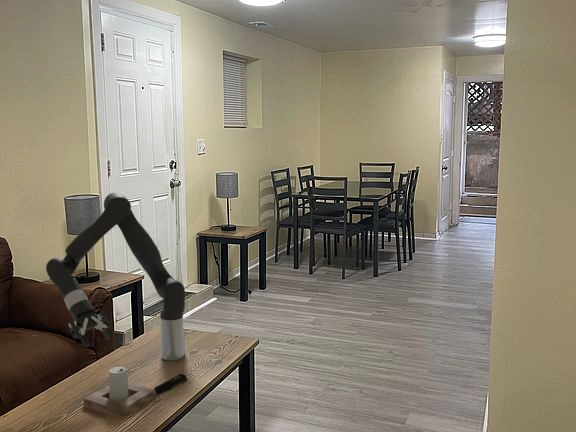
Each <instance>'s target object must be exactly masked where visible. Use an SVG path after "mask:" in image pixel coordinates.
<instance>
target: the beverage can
mask: <svg viewBox="0 0 576 432" xmlns="http://www.w3.org/2000/svg"><path fill="white" fill-rule="evenodd" d="M107 375H108V385H109V399H111V400H115V401H118V402H122V401H124V400H125V399H127V398H129V397H128V382H129V379H128V377H129V376H128V375H129V373H128V370H127V367H125V366H116V367H115V366H114V367H112V368H110V369H109V371H108V374H107Z"/></svg>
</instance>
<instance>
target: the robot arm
mask: <svg viewBox="0 0 576 432" xmlns="http://www.w3.org/2000/svg"><path fill="white" fill-rule="evenodd" d="M103 208H104V210H103V212H102V213H101V214H100V216H99V217H98V218H97V219H96V220H95V221H94V222H93V223H92V224H90V225H89V226H88V227H86V228H85V229H84V230H82V231H81V232H80V233H79V234H78V235H76V237H75V238H74V239H73V240H72V241H71V242H70V243H69V244H68V245H67V247H66V248H65V254H66V255H65V257H64V258H63V259H61V258H60V257H59V258H58V257H54V258H51V259H49V261H48V262H47V263H46V265H45V271H46V273H47V276H48V277H49V279H50V280H51V282H52V283H53V284H54V285H55V287H56V288H57V289H58V291H59V292H60V294H61V296H62V299H63V300H64V302H65V303H64V304H65V305H66V308H67V310H68V311H69V313H70V315H71V317H72V319H73V320H70V322H69V323H68V324H67V327H68V329H69V332H70V333H71V336H72V338H73V339H74V340H76V339H80V342H81V344H82V345H83V346H84V347H86V348H87V347H89V346H90V345H91V343H90V341H89V338H88V337H87V335H85V333H86V331H88V330H89V331H90V330H93V329H96V330H99V331H101V332H102V335H103V336H104V339H105V340H106V341H108V340H110V339H111V336H112V335H111V333H110V331H109V328H110V326H111V322H110V320H109V318H108V317H107V315H106V314H105V312H103V311H102V312H100V313H99V314H97V313H95V310H94V309H95V308H94V307H93V306H92V304H91V302H90V301H89V298H88V296H87V294H86V293H85V292H84V291H83V289H82V287H81V285H80V284H79V283H80V282H78V280H77V279H76V278H74V277H73V276H72V275H73V274H74V273H75V271H76V270H77V268H78V266H79V265H80V262H81V260H82V259H83V258H85V256H87V254H88V253H89V252H90V251H91V250H92V249H93V247H94V246H96V244H97V243H98V242H99V241H100V240H101V239H102V238H103V237H104V236H105V235H106V234H108V233H109V231H111V230H112V229H113V228H114V227H115V226H118V228H119V230H120V231H121V234H122V235H123V237H124V239H125V242H126V243H127V245H128V247H129V249H130V250H131V253H132V254H133V256H134V257H135V259H136V261H137V262H138V263H139V265H140V266H141V268H143V270H144V271H145V273H146V274H147V275H148V277H149V278H150V281H151V282H152V284H153V286H154V289H155V290H156V293H157V295H158V296H159V297H160V298H161V299H163V308H162V309H161V310H160V312H159V314H160V315H159V316H160V318H159V319H160V320H159V321H160V322H159V323H160V353H161V354H160V357H161V359H162V360H165V361H177V360H180V359H182V358H184V356H185V354H186V346H185V345H186V344H185V343H186V342H185V340H186V338H185V337H186V336H185V332H184V312H185V307H186V290H185V287H184V284H183V283H182V282H180V281H179V280H177V279H174V278H173V277H172V276H171V274H170V273H169V272H168V270H167V268H165V266H164V263H163V260H162V255H161V253H160V250H159V249H158V247H157V245H156V243H155V241H154V240H153V239H152V237H151V236H150V234H149V233H148V232H147V231H146V229H145V228H144V227H143V225H142V224H141V223H140V222H139V221H138V219H137V218H136V217H135V214H134V213H133V211H132V204H131V201H130V200H129V199H128V198H127V197H126V196H125V195H124V194H122V193H119V192H111V193H109V194H108V195H106V197H105V198H104V201H103ZM77 327H79V330H78V328H77Z"/></svg>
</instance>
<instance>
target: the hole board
mask: <svg viewBox="0 0 576 432" xmlns="http://www.w3.org/2000/svg"><path fill="white" fill-rule="evenodd" d="M128 397H129V398H127V399H125V400H124V401H122V402H118V401H115V400H111V399H109V384H108V385H106V386H104V387H103V388H101V389H99V390H97V391H95V392H93V393H91V394H89V395H87V396H86V397H84V398H83V399H82V400H83V408H87V409H90V410H93V411H96V412H100V413H103V414H105V415H106V414H107V415H109V416H112V417H115V418H118V419H123V418H125V417H126V416H127V415H130V414H131V413H132V412H134V411H136V410H137V409H140V408H141V407H143V406H144V405H146V404H148V403H149V402H151V401H153V400H154V399H156V392H155V389H154V388H151V387H147V386H143V385H140V384H136V383H132V382H129V381H128Z"/></svg>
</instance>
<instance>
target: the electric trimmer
mask: <svg viewBox="0 0 576 432" xmlns="http://www.w3.org/2000/svg"><path fill="white" fill-rule="evenodd" d="M187 381H188V377H187V376H186V375H185V374H183V373H178V374H177V375H175V376H174V377H172V378H171V379H168V380H166V381H164V382H163V383H161V384H158V385H157V386H155V387H153V389H155V393H157V394H160V393H162V392H165V391H168V390H171V389H172V388H173V387H174V386H177V385H179V384H180V383H182V382H187Z"/></svg>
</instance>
